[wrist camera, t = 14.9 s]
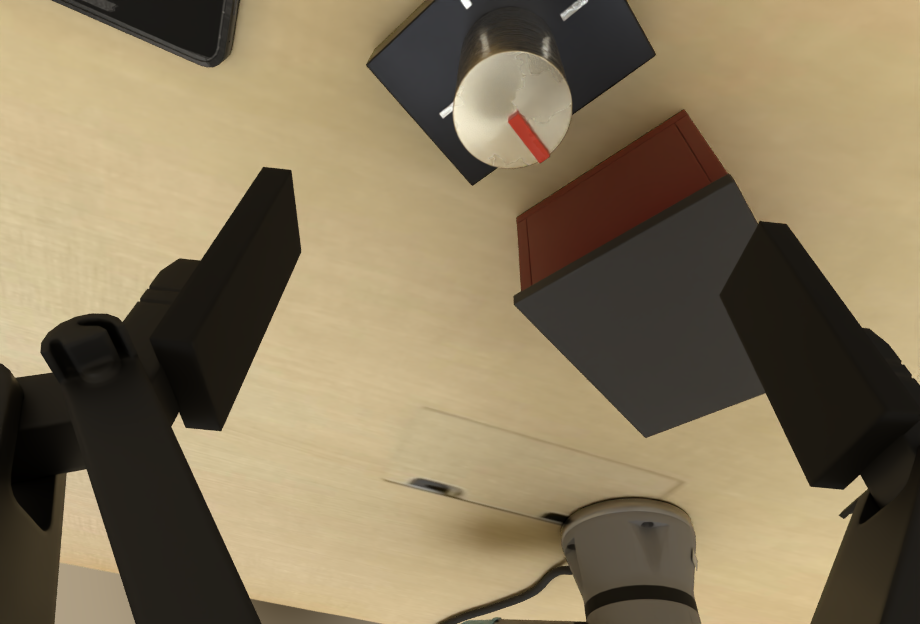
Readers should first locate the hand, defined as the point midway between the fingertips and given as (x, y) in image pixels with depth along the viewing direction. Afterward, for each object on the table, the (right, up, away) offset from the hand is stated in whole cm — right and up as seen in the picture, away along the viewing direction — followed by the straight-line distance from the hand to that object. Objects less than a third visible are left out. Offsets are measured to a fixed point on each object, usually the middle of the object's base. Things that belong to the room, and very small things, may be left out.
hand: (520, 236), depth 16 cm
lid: (+11, -3, +15) cm, 19 cm away
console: (+1, +12, +14) cm, 19 cm away
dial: (+1, +11, +12) cm, 16 cm away
